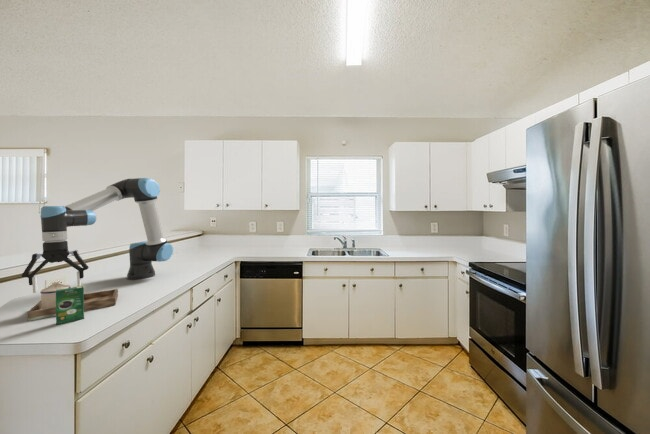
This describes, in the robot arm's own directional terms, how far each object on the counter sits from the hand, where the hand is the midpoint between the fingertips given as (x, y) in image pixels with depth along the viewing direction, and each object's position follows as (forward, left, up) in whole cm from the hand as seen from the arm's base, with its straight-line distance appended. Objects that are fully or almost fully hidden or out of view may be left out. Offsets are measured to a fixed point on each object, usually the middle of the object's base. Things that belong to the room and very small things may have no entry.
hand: (58, 288), depth 112 cm
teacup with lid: (0, 0, -9) cm, 9 cm away
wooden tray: (-6, 0, -9) cm, 11 cm away
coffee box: (-7, +19, -10) cm, 23 cm away
